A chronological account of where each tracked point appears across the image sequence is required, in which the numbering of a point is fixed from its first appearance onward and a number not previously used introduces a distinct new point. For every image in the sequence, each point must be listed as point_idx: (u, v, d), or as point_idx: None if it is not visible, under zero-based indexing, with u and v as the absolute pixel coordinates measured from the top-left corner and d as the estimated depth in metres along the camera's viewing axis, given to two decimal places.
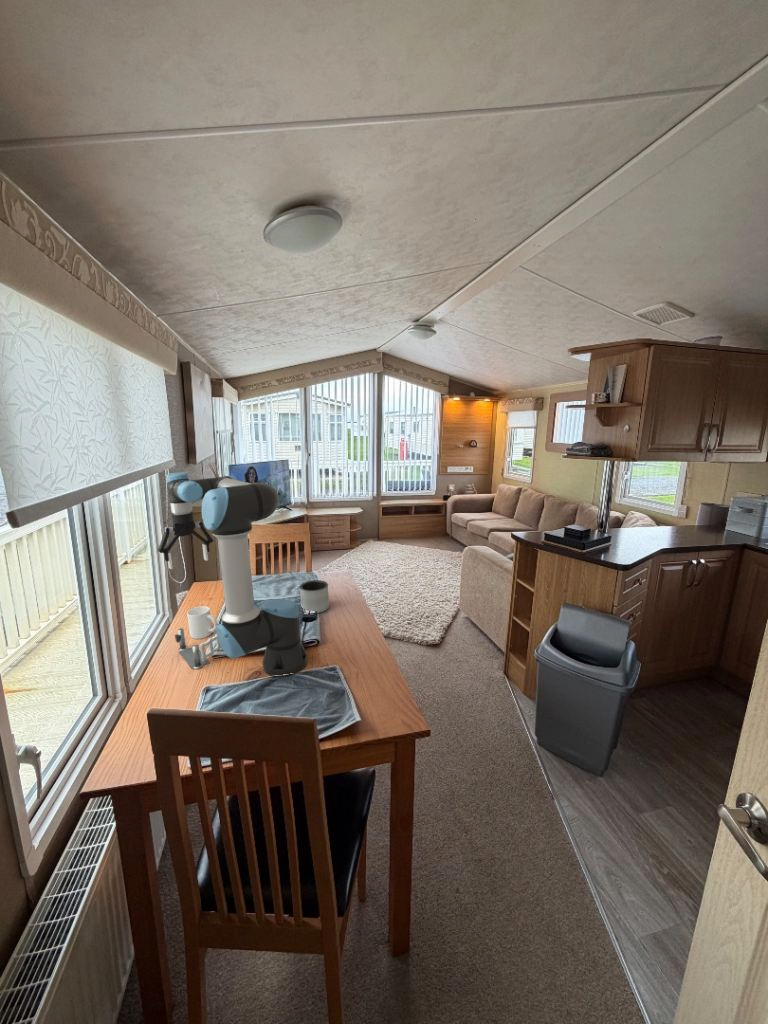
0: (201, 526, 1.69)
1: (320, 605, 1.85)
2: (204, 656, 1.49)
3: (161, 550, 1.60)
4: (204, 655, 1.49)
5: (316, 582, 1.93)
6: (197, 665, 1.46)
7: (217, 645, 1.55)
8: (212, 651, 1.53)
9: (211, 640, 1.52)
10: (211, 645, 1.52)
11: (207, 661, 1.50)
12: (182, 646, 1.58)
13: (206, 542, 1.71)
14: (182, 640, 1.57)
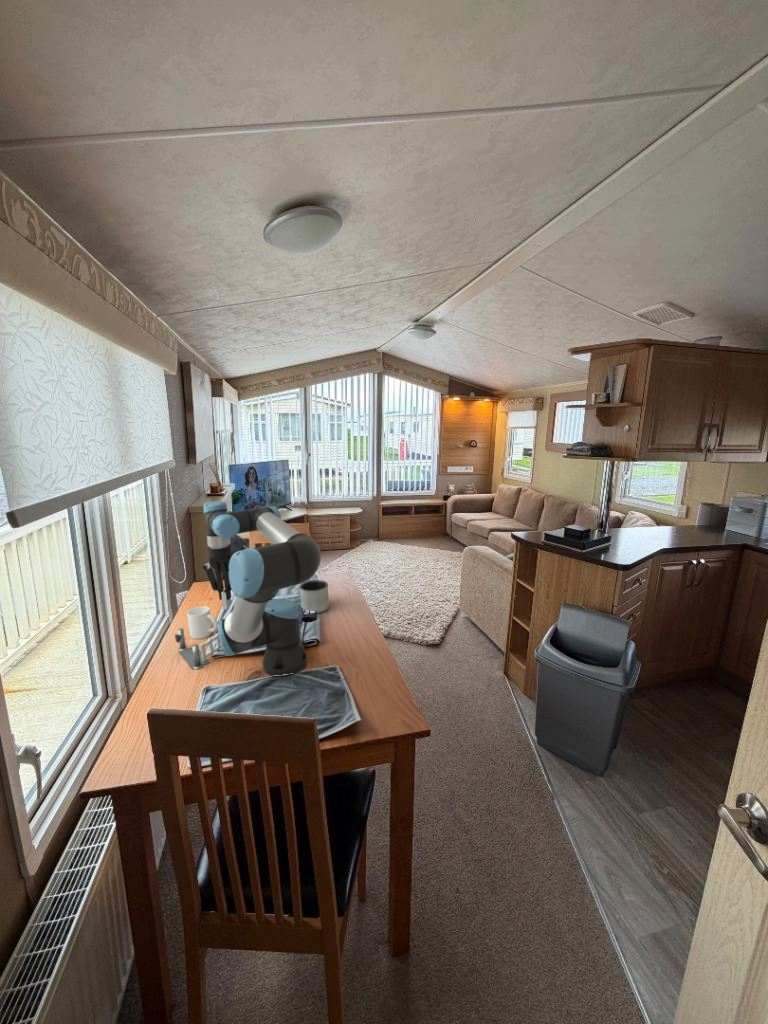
0: None
1: (320, 605, 1.85)
2: (204, 656, 1.49)
3: (213, 588, 1.50)
4: (204, 655, 1.49)
5: (316, 582, 1.93)
6: (197, 665, 1.46)
7: (217, 645, 1.55)
8: (212, 651, 1.53)
9: (211, 640, 1.52)
10: (211, 645, 1.52)
11: (207, 661, 1.50)
12: (182, 646, 1.58)
13: (226, 588, 1.50)
14: (182, 640, 1.57)
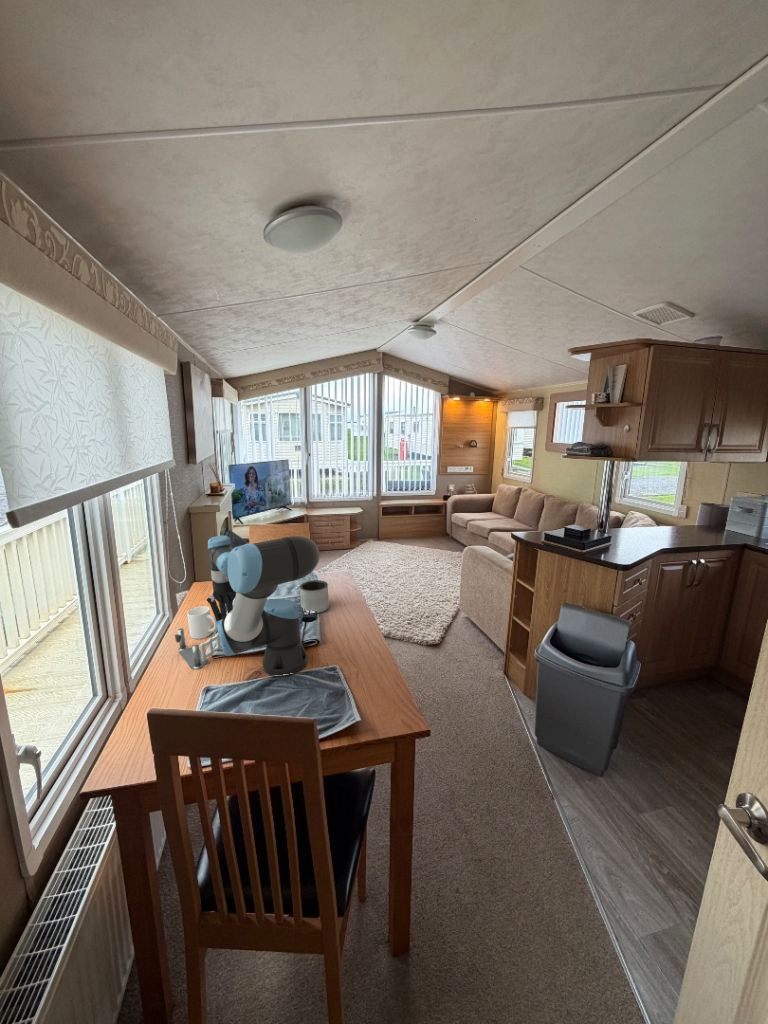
0: None
1: (320, 605, 1.85)
2: (204, 656, 1.49)
3: (217, 620, 1.53)
4: (204, 655, 1.49)
5: (316, 582, 1.93)
6: (197, 665, 1.46)
7: (217, 645, 1.55)
8: (212, 651, 1.53)
9: (211, 640, 1.52)
10: (211, 645, 1.52)
11: (207, 661, 1.50)
12: (182, 646, 1.58)
13: None
14: (182, 640, 1.57)
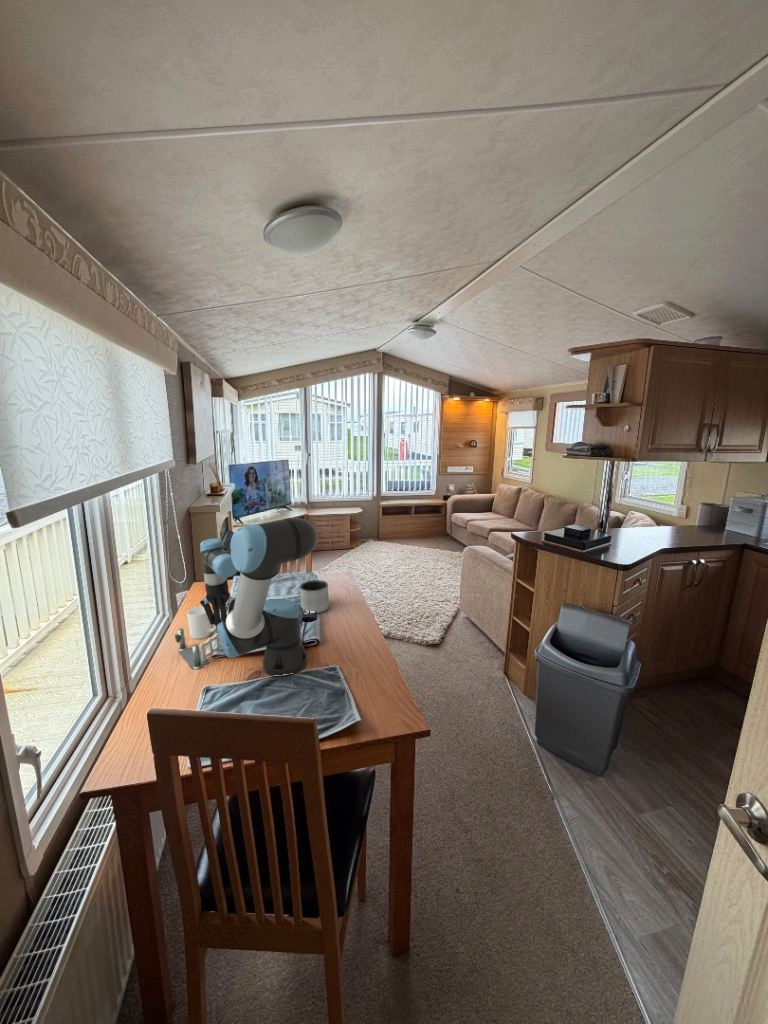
0: (231, 604, 1.52)
1: (320, 605, 1.85)
2: (204, 656, 1.49)
3: (211, 622, 1.54)
4: (204, 655, 1.49)
5: (316, 582, 1.93)
6: (197, 665, 1.46)
7: (216, 645, 1.55)
8: (212, 651, 1.53)
9: (211, 640, 1.52)
10: (211, 645, 1.52)
11: (207, 661, 1.50)
12: (182, 646, 1.58)
13: None
14: (182, 640, 1.57)
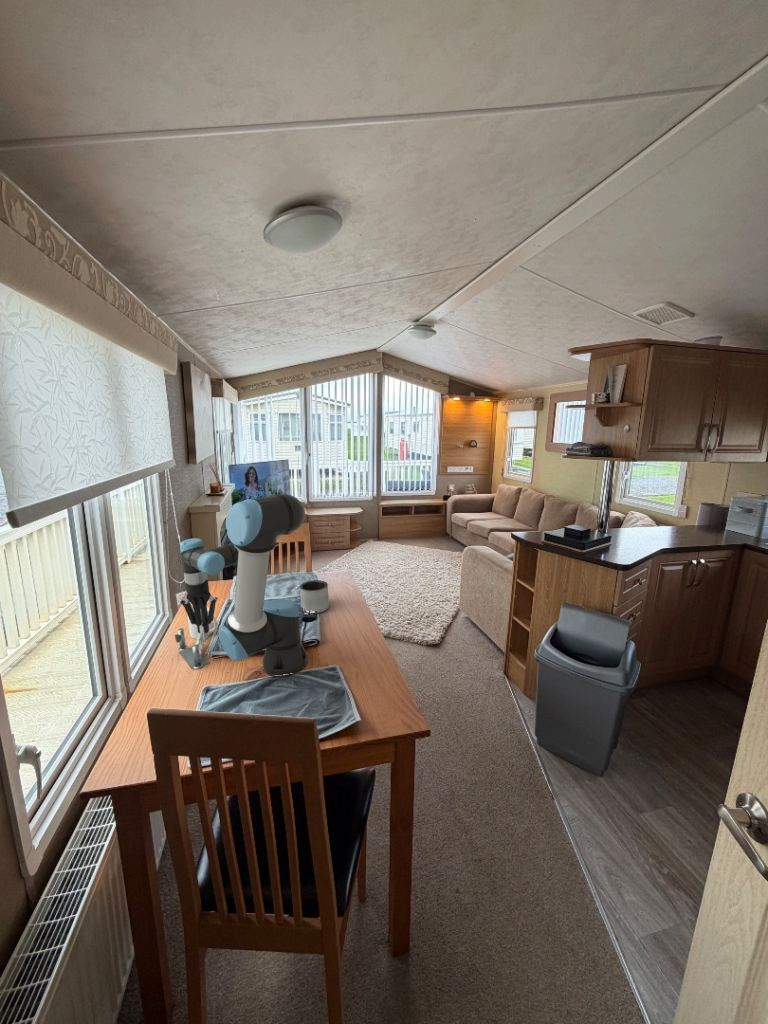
0: (211, 603, 1.53)
1: (320, 605, 1.85)
2: None
3: (192, 622, 1.54)
4: None
5: (316, 582, 1.93)
6: (197, 665, 1.46)
7: (200, 645, 1.56)
8: (201, 650, 1.53)
9: (199, 639, 1.52)
10: (200, 644, 1.53)
11: (207, 661, 1.50)
12: (182, 646, 1.58)
13: (204, 622, 1.54)
14: (182, 640, 1.57)
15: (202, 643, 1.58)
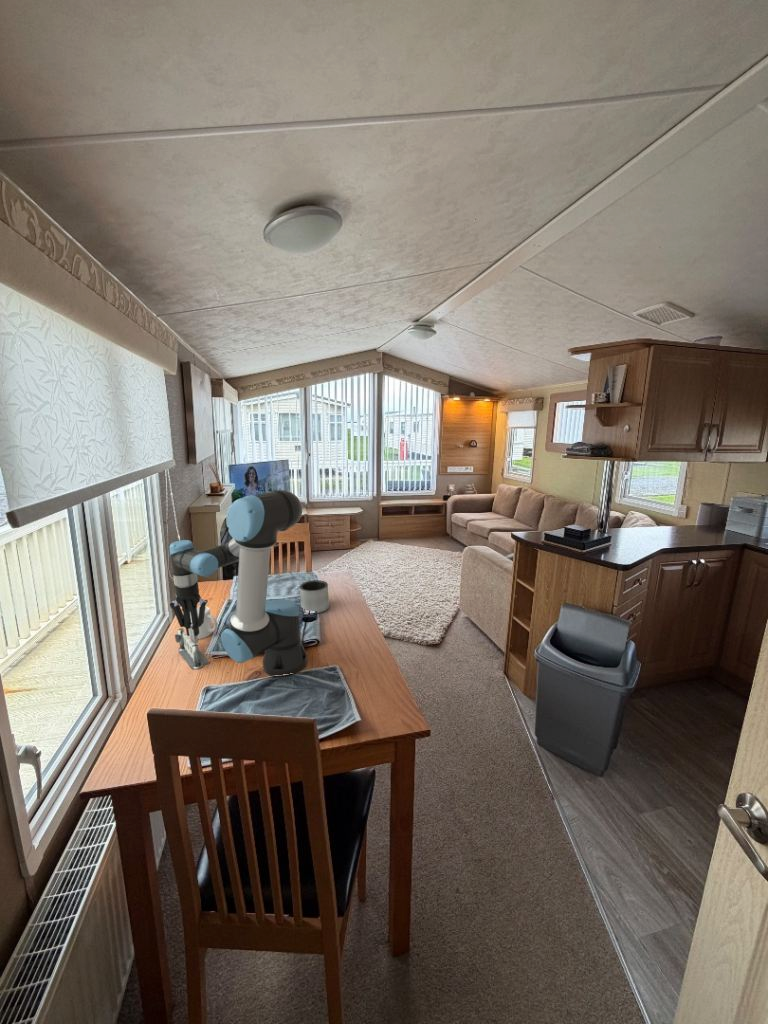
0: (201, 606, 1.51)
1: (320, 605, 1.85)
2: None
3: (181, 624, 1.52)
4: None
5: (316, 582, 1.93)
6: (197, 665, 1.46)
7: (189, 648, 1.54)
8: None
9: None
10: None
11: (207, 661, 1.50)
12: (182, 646, 1.58)
13: (194, 625, 1.52)
14: (182, 640, 1.57)
15: None
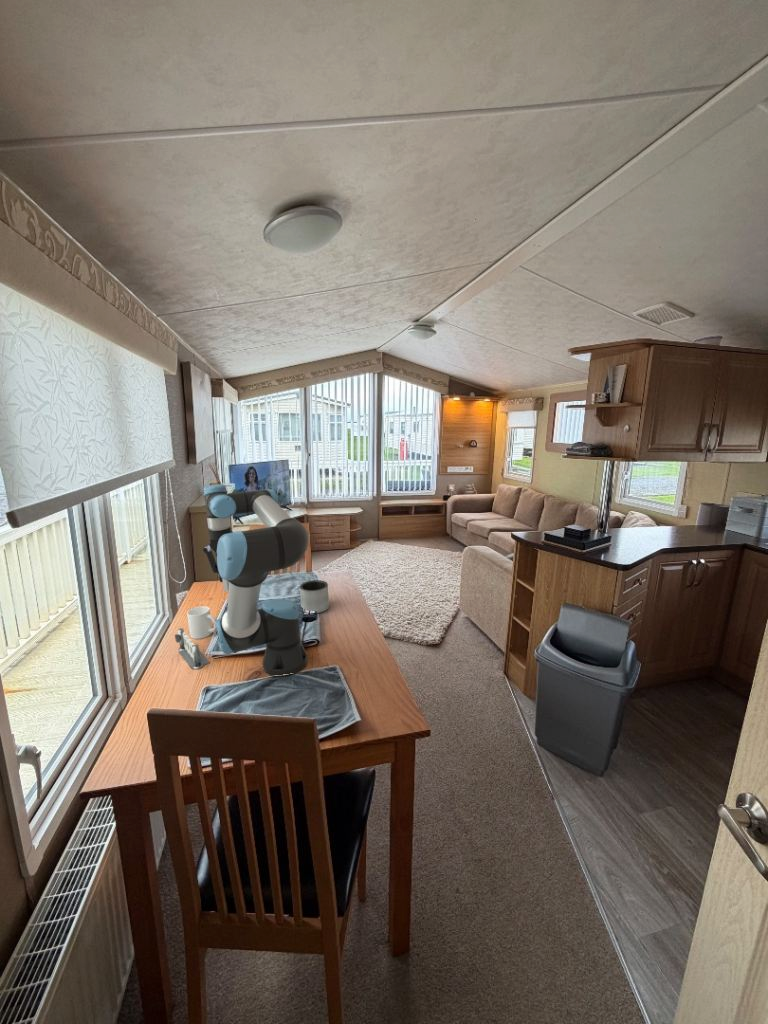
0: None
1: (320, 605, 1.85)
2: None
3: (214, 570, 1.53)
4: None
5: (316, 582, 1.93)
6: (197, 665, 1.46)
7: (189, 648, 1.54)
8: None
9: None
10: None
11: (207, 661, 1.50)
12: (182, 646, 1.58)
13: None
14: (182, 640, 1.57)
15: None
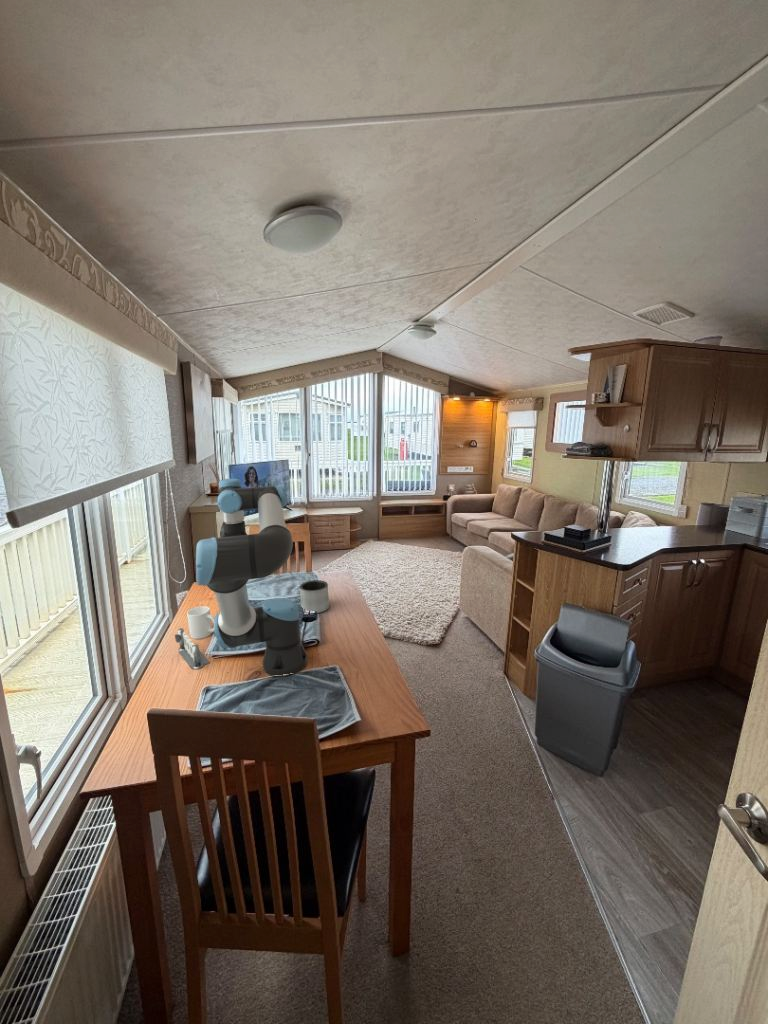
0: None
1: (320, 605, 1.85)
2: None
3: None
4: None
5: (316, 582, 1.93)
6: (197, 665, 1.46)
7: (189, 648, 1.54)
8: None
9: None
10: None
11: (207, 661, 1.50)
12: (182, 646, 1.58)
13: None
14: (182, 640, 1.57)
15: None
